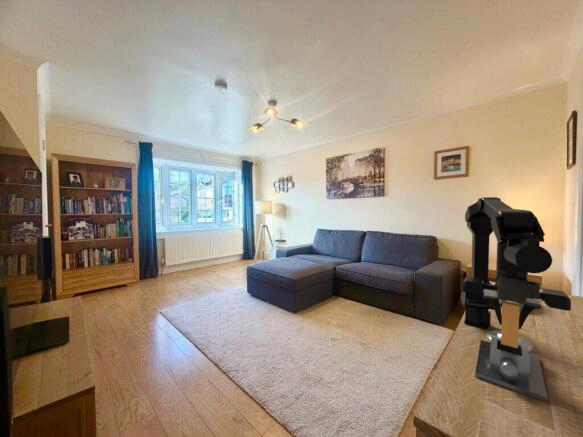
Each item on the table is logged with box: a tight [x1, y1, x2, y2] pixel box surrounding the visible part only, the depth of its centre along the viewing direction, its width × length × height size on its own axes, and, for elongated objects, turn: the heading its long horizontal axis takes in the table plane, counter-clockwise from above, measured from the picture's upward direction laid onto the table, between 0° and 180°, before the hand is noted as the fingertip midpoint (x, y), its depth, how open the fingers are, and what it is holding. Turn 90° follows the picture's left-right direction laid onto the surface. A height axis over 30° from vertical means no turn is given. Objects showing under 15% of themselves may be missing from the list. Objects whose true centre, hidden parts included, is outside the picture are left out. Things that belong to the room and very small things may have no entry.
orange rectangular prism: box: [500, 300, 520, 348], centre depth 60 cm, size 3×4×10 cm
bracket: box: [474, 330, 549, 403], centre depth 62 cm, size 12×20×6 cm, turn 139°
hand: (509, 326), depth 60 cm, fingers closed on orange rectangular prism, 3 cm apart
